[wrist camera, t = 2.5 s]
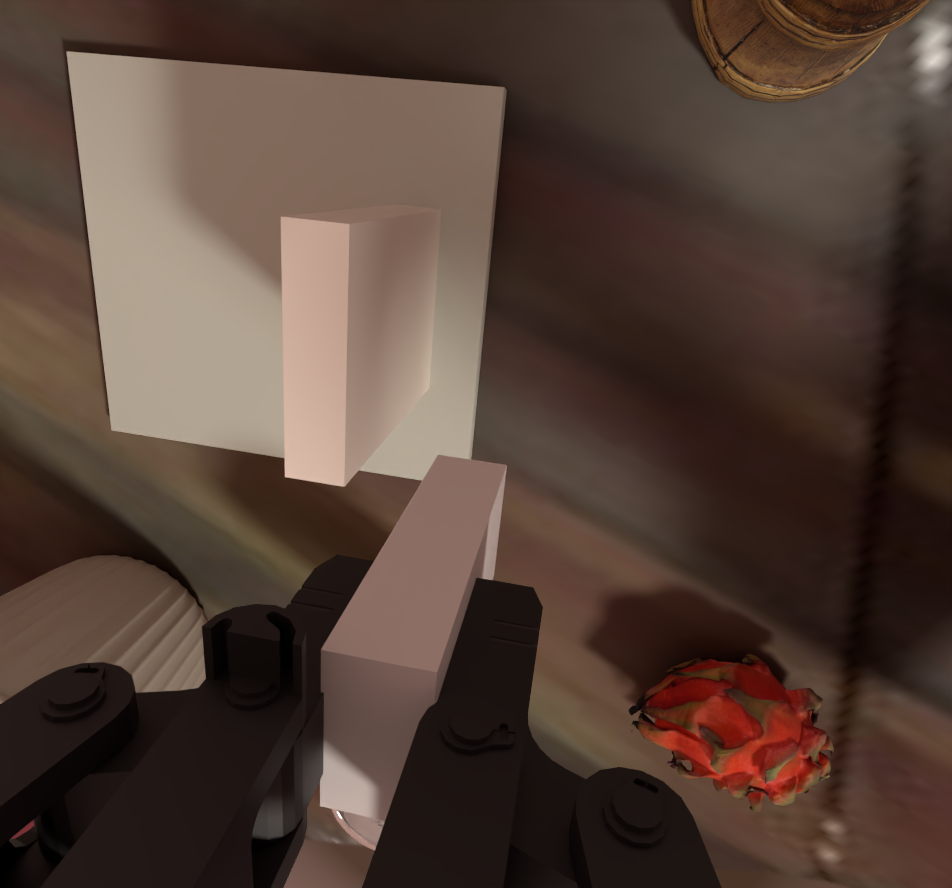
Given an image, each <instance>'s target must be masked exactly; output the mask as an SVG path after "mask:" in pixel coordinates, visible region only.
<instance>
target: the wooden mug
mask: <svg viewBox="0 0 952 888" xmlns="http://www.w3.org/2000/svg"><path fill="white" fill-rule="evenodd" d="M928 1H929V0H691V3H692V10H693V16H694V21H695V25H696V29H697V33H698V38H699V41H700V43H701V45H702V47H703V50H704V52H705V54H706V56H707V58H708V60H709V62H710V64H711V66H712V68H713V69H714V71H715V73H716V75H717V76H718V78H719V80H720V82H721V83H722V84H724V85H725V86H727V87H728V88H730V89H731V90H733V91H734V92H736V93H737V94H739V95H740V96H742V97H743V98H747V99H752V100H758V101H763V102H795V101H798V100H802V99H805V98H809V97H812V96H816V95H819V94H821V93H823V92H825V91H826V90H828V89H830V88H832V87H834V86H835V85H837V84H839V83H841V82H842V81H844V80H846V79H847V78H848V77H849V76H850V75H851V74H853V73H854V72H855V71H856V70H857V69H858V68H859V67H861V66H862V65H863V64H864V63H865V62H866V61H867V60H869V59H870V57H871V56H872V55H873V53H874V52H875V51H876V50H877V48H878V47H879V45H880V44H881V42H882V41H883V40H884V38H885V37H886V35H887V34H888V33H889V32H891V31H892V30H894V29H896V28H897V27H899V26H900V25H902V24H904V23H905V22H907V21H909V20H910V19H912V18H913V17H914V16H915V15H916V14H917V13H918V12H919V11H920V10H921V9H922V8H923V7H924V6H925V5H926V4H927V3H928Z"/></svg>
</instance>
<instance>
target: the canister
mask: <svg viewBox="0 0 952 888" xmlns="http://www.w3.org/2000/svg"><path fill="white" fill-rule="evenodd" d="M207 622H208V620H207V619H206V618H205V617H204V615H203V610H202V609H201V608H200V607H199V606H198V604H197V602H196V599H195V598H193V597H192V596H191V595H190V594H189V592H188V590H187V589H186V588H184V587H183V586H182V585H181V584H180V583H179V582H178V580H176V579H174V578H172V577H171V576H169V575H168V573H167V572H164V571H162V570H160V569H158V568H157V567H156V566H155V565H149V564H147V563H146V562H145V561H143V560H135V559H133V558H132V557H126V556H125V557H121V556H118V555H108V556H105V555H98V556H93V557H89V558H82V559H78V560H75V561H73V562H70V563H68V564H66V565H63V566H61V567H58V568H56V569H54V570H52V571H50V572H48V573H46V574H44V575H42V576H40V577H38V578H36V579H34V580H32V581H30V582H28V583H26V584H24V585H22V586H20V587H18V588H16V589H14V590H12V591H10V592H8V593H6V594H4V595H2V596H0V704H1V703H3V702H4V701H6V700H7V699H9V698H10V697H12V696H14V695H15V694H17V693H18V692H20V691H21V690H23V689H24V688H26V687H28V686H29V685H31V684H32V683H34V682H35V681H37V680H39V679H41V678H43V677H45V676H47V675H49V674H51V673H53V672H55V671H57V670H59V669H62V668H66V667H69V666H73V665H77V664H81V663H95V662H105V663H109V664H113V665H117V666H121V667H122V668H124V669H125V670H126V671H127V672H129V673H130V674H131V675H132V677H133V681H134V686H135V691H136V693H140V692H159V691H179V690H187V689H194V688H199V686H200V685H201V684H202V683H203V681H204V680H205V679H206V675H205V662H204V649H203V636H202V626H203V625H204V624H206V623H207ZM33 826H34V822H33V821H31V822H30V823H29V824H28V825H27V826H25V827H24V828H23V829H22V830H20V831H19V832H18V833H17V834H16V835H14V836H13V837H12V838H11V839H15V838H17V837H18V836H20V835H22V834H23V833H25V832H27V831H28V830H29V829H31V828H32V827H33Z"/></svg>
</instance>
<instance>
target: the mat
mask: <svg viewBox="0 0 952 888" xmlns="http://www.w3.org/2000/svg"><path fill="white" fill-rule="evenodd" d="M66 52H67V60H68V69H69V77H70V86H71V94H72V102H73V111H74V119H75V128H76V136H77V144H78V153H79V161H80V169H81V178H82V186H83V195H84V203H85V211H86V220H87V228H88V237H89V245H90V253H91V262H92V270H93V278H94V287H95V295H96V304H97V312H98V320H99V329H100V337H101V346H102V354H103V362H104V371H105V379H106V388H107V396H108V404H109V413H110V421H111V429H112V430H113V431H120V432H126V433H132V434H138V435H144V436H150V437H157V438H163V439H169V440H175V441H181V442H188V443H194V444H200V445H206V446H212V447H218V448H225V449H231V450H237V451H243V452H249V453H256V454H262V455H268V456H274V457H280V458H285V450H284V389H283V328H282V268H281V216H290V215H299V214H309V213H318V212H328V211H338V210H347V209H357V208H367V207H376V206H386V205H395V204H396V205H406V206H415V207H424V208H434V209H441V220H440V235H439V249H438V264H437V279H436V293H435V308H434V323H433V337H432V352H431V367H430V382H429V389H428V390H427V391H426V393H425V394H424V395H423V396H422V397H421V398H420V399H419V401H418V402H417V403H416V404H415V405H414V406H413V408H412V409H411V410H410V411H409V412H408V413H407V415H406V416H405V417H404V418H403V419H402V420H401V422H400V423H399V424H398V425H397V426H396V427H395V428H394V430H393V431H392V432H391V433H390V434H389V435H388V437H387V438H386V439H385V440H384V441H383V442H382V444H381V445H380V446H379V447H378V448H377V449H376V451H375V452H374V453H373V454H372V455H371V456H370V458H369V459H368V460H367V461H366V462H365V463H364V464H363V466H362V467H361V468H360V469H359V470H361V471H367V472H373V473H379V474H385V475H392V476H398V477H404V478H410V479H416V480H422V481H423V479H424V477H425V476H426V474H427V472H428V471H429V469H430V467H431V466H432V464H433V462H434V461H435V459H436V457H437V456H438V455H444V456H450V457H457V458H463V459H470V460H471V456H472V446H473V435H474V425H475V415H476V404H477V394H478V384H479V373H480V363H481V353H482V342H483V332H484V321H485V311H486V301H487V290H488V280H489V270H490V259H491V249H492V239H493V228H494V218H495V208H496V197H497V187H498V176H499V166H500V156H501V145H502V135H503V125H504V114H505V104H506V94H507V89H506V88H504V87H496V86H484V85H471V84H459V83H447V82H435V81H423V80H410V79H398V78H386V77H374V76H361V75H349V74H337V73H325V72H312V71H300V70H288V69H276V68H264V67H251V66H239V65H227V64H215V63H202V62H190V61H178V60H166V59H153V58H141V57H129V56H117V55H104V54H92V53H80V52H68V51H66Z"/></svg>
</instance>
